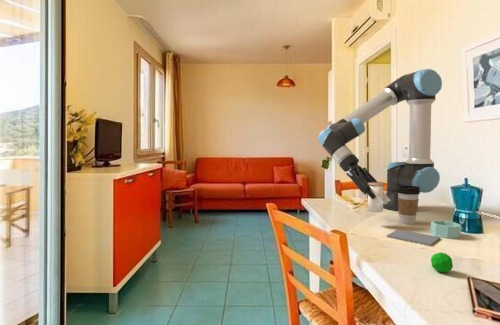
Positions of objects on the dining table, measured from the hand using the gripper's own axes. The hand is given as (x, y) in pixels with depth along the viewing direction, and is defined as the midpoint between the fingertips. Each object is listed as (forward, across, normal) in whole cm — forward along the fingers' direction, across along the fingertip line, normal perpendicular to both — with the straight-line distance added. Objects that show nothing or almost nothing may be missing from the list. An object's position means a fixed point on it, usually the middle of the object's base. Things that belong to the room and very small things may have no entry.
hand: (384, 203), depth 126 cm
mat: (+16, +6, +2) cm, 17 cm away
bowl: (+21, -6, +7) cm, 23 cm away
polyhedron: (+26, +32, +13) cm, 43 cm away
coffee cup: (+10, -15, -5) cm, 18 cm away
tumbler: (0, 0, -5) cm, 5 cm away
